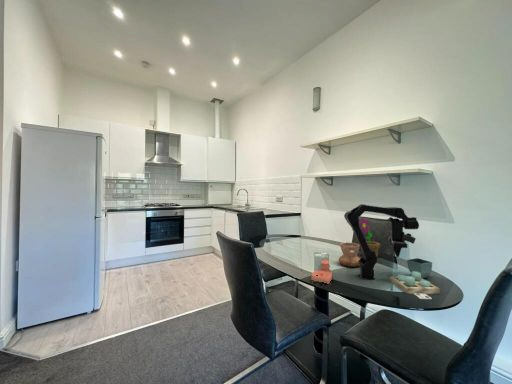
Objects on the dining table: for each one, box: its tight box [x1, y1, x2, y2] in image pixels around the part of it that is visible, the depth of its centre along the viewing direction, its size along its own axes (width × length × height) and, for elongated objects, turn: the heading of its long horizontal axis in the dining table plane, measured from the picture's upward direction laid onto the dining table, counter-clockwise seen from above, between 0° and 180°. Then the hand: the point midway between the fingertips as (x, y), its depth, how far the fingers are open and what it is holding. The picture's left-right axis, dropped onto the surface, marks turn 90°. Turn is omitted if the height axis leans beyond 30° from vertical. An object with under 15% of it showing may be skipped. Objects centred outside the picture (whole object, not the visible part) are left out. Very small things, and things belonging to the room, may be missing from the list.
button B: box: [404, 275, 415, 287], centre depth 110 cm, size 4×4×4 cm
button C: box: [410, 271, 421, 282], centre depth 116 cm, size 4×4×4 cm
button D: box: [420, 279, 431, 287], centre depth 109 cm, size 4×4×4 cm
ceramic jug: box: [338, 241, 361, 268], centre depth 151 cm, size 18×14×14 cm
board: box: [389, 276, 441, 295], centre depth 113 cm, size 15×15×2 cm
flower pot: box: [406, 257, 433, 279], centre depth 127 cm, size 9×9×9 cm
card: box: [413, 293, 433, 300], centre depth 103 cm, size 5×5×1 cm
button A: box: [397, 274, 406, 281], centre depth 117 cm, size 4×4×4 cm
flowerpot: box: [359, 216, 381, 257], centre depth 169 cm, size 14×14×30 cm
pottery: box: [310, 257, 333, 284], centre depth 128 cm, size 18×10×10 cm, turn 151°
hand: (397, 256), depth 126 cm, fingers closed
